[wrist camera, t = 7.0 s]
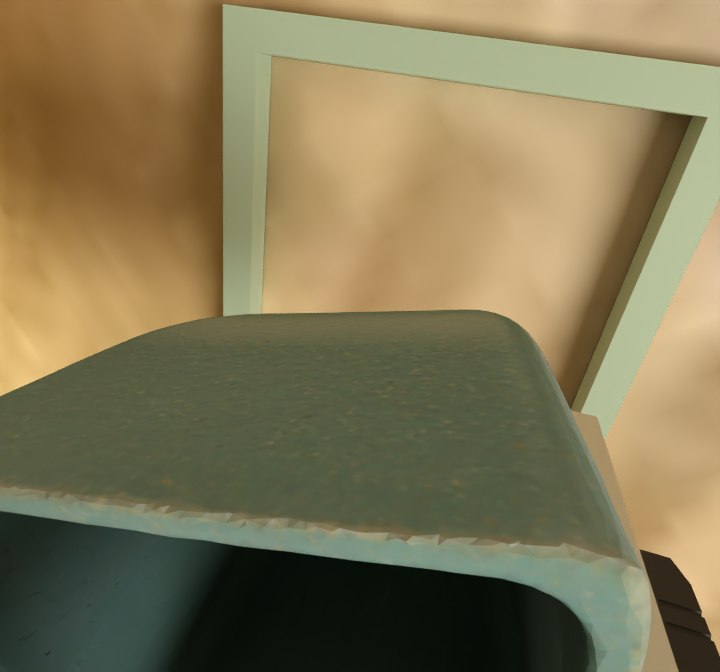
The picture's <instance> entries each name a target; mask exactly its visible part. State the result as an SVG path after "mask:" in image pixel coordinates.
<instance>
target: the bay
mask: <svg viewBox="0 0 720 672" xmlns="http://www.w3.org/2000/svg"><path fill="white" fill-rule="evenodd" d="M272 56H275V57H282V58H289V59H296V60H303V61H310V62H317V63H324V64H331V65H338V66H345V67H352V68H359V69H366V70H373V71H380V72H387V73H394V74H401V75H408V76H415V77H422V78H429V79H436V80H443V81H450V82H456V83H463V84H470V85H477V86H484V87H491V88H498V89H505V90H512V91H519V92H526V93H533V94H540V95H547V96H554V97H561V98H568V99H575V100H582V101H589V102H596V103H603V104H610V105H617V106H624V107H631V108H638V109H645V110H651V111H658V112H665V113H672V114H679V115H686V116H692V119H691V121H690V123H689V126H688V128H687V131H686V133H685V135H684V138H683V140H682V143H681V145H680V147H679V150H678V152H677V155H676V157H675V159H674V162H673V164H672V167H671V169H670V171H669V174H668V176H667V179H666V181H665V183H664V186H663V188H662V191H661V193H660V195H659V198H658V200H657V203H656V205H655V207H654V210H653V212H652V215H651V217H650V219H649V222H648V224H647V227H646V229H645V231H644V234H643V236H642V239H641V241H640V243H639V246H638V248H637V251H636V253H635V255H634V258H633V260H632V263H631V265H630V267H629V270H628V272H627V275H626V277H625V279H624V282H623V284H622V287H621V289H620V291H619V294H618V296H617V299H616V301H615V303H614V306H613V308H612V311H611V313H610V315H609V318H608V320H607V323H606V325H605V327H604V330H603V332H602V335H601V337H600V339H599V342H598V344H597V347H596V349H595V351H594V354H593V356H592V359H591V361H590V363H589V366H588V368H587V371H586V373H585V376H584V378H583V380H582V383H581V385H580V388H579V390H578V392H577V395H576V397H575V400H574V402H573V404H572V407H571V409H570V410H572V411H576V412H580V413H584V414H588V415H592V416H596V417H597V418H598V422H599V425H600V428H601V431H602V434H603V437H604V440H605V439H606V437H607V434H608V432H609V430H610V428H611V426H612V424H613V422H614V420H615V418H616V416H617V413H618V411H619V409H620V407H621V405H622V403H623V401H624V399H625V397H626V395H627V392H628V390H629V388H630V386H631V384H632V382H633V380H634V378H635V376H636V374H637V371H638V369H639V367H640V365H641V363H642V361H643V359H644V357H645V355H646V352H647V350H648V348H649V346H650V344H651V342H652V340H653V338H654V336H655V334H656V331H657V329H658V327H659V325H660V323H661V321H662V319H663V317H664V315H665V313H666V310H667V308H668V306H669V304H670V302H671V300H672V298H673V296H674V294H675V291H676V289H677V287H678V285H679V283H680V281H681V279H682V277H683V275H684V273H685V270H686V268H687V266H688V264H689V262H690V260H691V258H692V256H693V254H694V252H695V249H696V247H697V245H698V243H699V241H700V239H701V237H702V235H703V233H704V231H705V228H706V226H707V224H708V222H709V220H710V218H711V216H712V214H713V212H714V209H715V207H716V205H717V203H718V201H719V199H720V67H716V66H708V65H700V64H692V63H685V62H677V61H669V60H661V59H653V58H645V57H637V56H629V55H621V54H614V53H606V52H598V51H590V50H582V49H574V48H566V47H558V46H550V45H543V44H535V43H527V42H519V41H511V40H503V39H495V38H487V37H479V36H472V35H464V34H456V33H448V32H440V31H432V30H424V29H416V28H408V27H401V26H393V25H385V24H377V23H369V22H361V21H353V20H345V19H337V18H330V17H322V16H314V15H306V14H298V13H290V12H282V11H274V10H266V9H259V8H251V7H243V6H235V5H227V4H223V316H231V315H243V314H261V313H262V287H263V262H264V237H265V212H266V187H267V162H268V137H269V112H270V86H271V61H272Z"/></svg>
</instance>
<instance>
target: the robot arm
mask: <svg viewBox="0 0 720 672" xmlns="http://www.w3.org/2000/svg"><path fill="white" fill-rule="evenodd" d="M571 412H572V414H573V416H574V419H575V421H576V423H577V425H578V427H579V429H580V432H581V434H582V436H583V438H584V440H585V442H586V445H587V447H588V449H589V451H590V453H591V455H592V458H593V460H594V462H595V464H596V466H597V468H598V471H599V473H600V475H601V477H602V479H603V481H604V484H605V486H606V489H607V492H608V494H609V497H610V499H611V502H612V504H613V506H614V508H615V510H616V513H617V515H618V517H619V519H620V521H621V524H622V526H623V528H624V530H625V532H626V535H627V537H628V539H629V541H630V543H631V545H632V547H633V549H634V551H635V553H636V555H637V558H638V560H639V562H640V564H641V566H642V568H643V570H644V572H645V575H646V578H647V581H648V584H649V589H650V596H651V626H650V634H649V641H648V646H647V652H646V657H645V660H644V663H643V668H642V672H720V656H719V653H718V651H717V648H716V646H715V643H714V641H711V634H710V631H709V629H708V626H707V624H706V621H705V619H704V618H703V617H702V616H701V613H702V611H701V609H700V606H699V604H698V601H697V599H696V596H695V594H694V591H693V589H692V586H691V584H690V583H689V582H688V580H687V579H686V578H685V577H684V575H683V574H682V573H681V571H680V570H679V569H678V568H677V566H676V565H675V564H674V563H673V561H672V560H671V559H670V558H668V557H664V556H661V555H657V554H654V553H650V552H647V551H644V550H640V549H639V547H638V543H637V540H636V537H635V534H634V531H633V528H632V525H631V522H630V518H629V515H628V512H627V509H626V506H625V503H624V500H623V497H622V493H621V490H620V487H619V484H618V481H617V478H616V475H615V472H614V468H613V465H612V462H611V459H610V456H609V453H608V450H607V447H606V443H605V440H604V437H603V434H602V431H601V428H600V425H599V422H598V418H597V417H596V416H592V415H588V414H584V413H580V412H576V411H572V410H571Z"/></svg>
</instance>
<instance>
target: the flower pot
mask: <svg viewBox="0 0 720 672" xmlns="http://www.w3.org/2000/svg"><path fill="white" fill-rule="evenodd" d="M650 626H651V596H650V589H649V584H648V581H647V578H646V575H645V572H644V570H643V568H642V566H641V564H640V562H639V560H638V558H637V555H636V553H635V551H634V549H633V547H632V545H631V543H630V541H629V539H628V537H627V535H626V532H625V530H624V528H623V526H622V524H621V521H620V519H619V517H618V515H617V513H616V510H615V508H614V506H613V504H612V502H611V499H610V497H609V494H608V492H607V489H606V486H605V484H604V481H603V479H602V477H601V475H600V473H599V471H598V468H597V466H596V464H595V462H594V460H593V458H592V455H591V453H590V451H589V449H588V447H587V445H586V442H585V440H584V438H583V436H582V434H581V432H580V429H579V427H578V425H577V423H576V421H575V419H574V416H573V414H572V412H571V410H570V408H569V405H568V403H567V401H566V399H565V397H564V395H563V393H562V391H561V389H560V386H559V384H558V382H557V380H556V378H555V376H554V374H553V372H552V370H551V368H550V366H549V364H548V362H547V360H546V358H545V357H544V355H543V353H542V351H541V349H540V348H539V346H538V345H537V343H536V342H535V341H534V339H533V338H532V337H531V336H530V334H529V333H528V332H527V331H526V330H524V329H523V328H522V327H521V326H520V325H518V324H517V323H515V322H514V321H512V320H511V319H509V318H507V317H504V316H502V315H499V314H496V313H492V312H488V311H481V310H435V311H391V312H341V313H290V314H243V315H231V316H221V317H214V318H207V319H199V320H195V321H190V322H186V323H181V324H177V325H173V326H169V327H166V328H162V329H158V330H155V331H151V332H149V333H146V334H143V335H140V336H138V337H135V338H132V339H130V340H127V341H125V342H123V343H120V344H118V345H115V346H113V347H111V348H108V349H106V350H104V351H101V352H99V353H97V354H94V355H92V356H90V357H87V358H85V359H83V360H81V361H78V362H76V363H74V364H71V365H69V366H67V367H65V368H63V369H60V370H58V371H56V372H54V373H52V374H49V375H47V376H45V377H43V378H41V379H38V380H36V381H34V382H32V383H29V384H27V385H25V386H23V387H20V388H18V389H16V390H13V391H11V392H9V393H7V394H4V395H2V396H0V672H642V668H643V663H644V660H645V657H646V652H647V646H648V641H649V634H650Z"/></svg>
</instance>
